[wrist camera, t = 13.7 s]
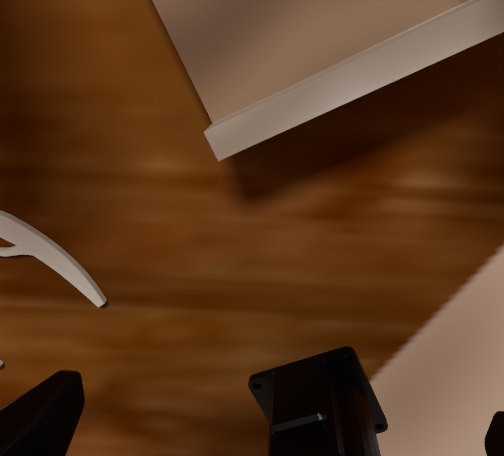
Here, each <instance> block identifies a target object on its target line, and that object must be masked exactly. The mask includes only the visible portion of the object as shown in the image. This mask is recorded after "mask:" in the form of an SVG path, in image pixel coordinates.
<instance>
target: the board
mask: <svg viewBox="0 0 504 456" xmlns="http://www.w3.org/2000/svg"><path fill="white" fill-rule="evenodd" d="M152 1H153V3H154V5H155V7H156V9H157V11H158V13H159V15H160V17H161V19H162V21H163V23H164V25H165V27H166V29H167V31H168V34H169V36H170V38H171V40H172V42H173V44H174V46H175V48H176V50H177V52H178V54H179V56H180V58H181V60H182V62H183V64H184V66H185V68H186V70H187V72H188V74H189V76H190V78H191V80H192V82H193V84H194V86H195V88H196V90H197V92H198V94H199V97H200V99H201V101H202V103H203V105H204V107H205V109H206V111H207V113H208V115H209V117H210V119H211V121H212V124H211V125H210V126H209V127H208V128H207V129H206V130H205V131H204V134H205V136H206V138H207V140H208V142H209V144H210V146H211V148H212V150H213V152H214V153H215V155H216V157H217V159H218V161H220V160H222V159H224V158H226V157H229V156H231V155H233V154H235V153H237V152H240V151H242V150H244V149H246V148H249V147H251V146H253V145H255V144H257V143H260V142H262V141H264V140H266V139H268V138H271V137H273V136H275V135H277V134H279V133H282V132H284V131H286V130H288V129H290V128H293V127H295V126H297V125H299V124H301V123H304V122H306V121H308V120H310V119H312V118H315V117H317V116H319V115H321V114H324V113H326V112H328V111H330V110H332V109H335V108H337V107H339V106H341V105H343V104H346V103H348V102H350V101H352V100H354V99H357V98H359V97H361V96H363V95H365V94H368V93H370V92H372V91H374V90H376V89H379V88H381V87H383V86H385V85H388V84H390V83H392V82H394V81H396V80H399V79H401V78H403V77H405V76H407V75H410V74H412V73H414V72H416V71H418V70H421V69H423V68H425V67H427V66H429V65H432V64H434V63H436V62H438V61H440V60H443V59H445V58H447V57H449V56H452V55H454V54H456V53H458V52H460V51H463V50H465V49H467V48H469V47H471V46H474V45H476V44H478V43H480V42H482V41H485V40H487V39H489V38H491V37H493V36H496V35H498V34H500V33H502V32H504V0H152Z"/></svg>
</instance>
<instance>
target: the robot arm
mask: <svg viewBox="0 0 504 456" xmlns="http://www.w3.org/2000/svg"><path fill="white" fill-rule="evenodd" d="M345 355H350V356H349V357H343V356H345ZM255 382H258V383H260V384H255ZM248 386H249V389H250V391H251V392H252V394H253V396H254V397H255V399H256V401H257V402H258V404H259V406H260V407H261V409H262V411H263V412H264V414H265V416H266V417H267V419H268V421H269V422H270V423H269V446H268V456H381V455H380V450H379V446H378V442H377V437H376V434H377V433H381V432H384V431H385V430H387V428H388V424H387V421H386V418H385V415H384V413H383V411H382V409H381V407H380V405H379V402H378V400H377V398H376V396H375V394H374V391H373V389H372V387H371V385H370V383H369V381H368V378H367V376H366V374H365V372H364V370H363V368H362V365H361V363H360V361H359V359H358V357H357V354H356V352H355V350H354V349H353V348H351V347H341V348H338V349H335V350H332V351H328V352H325V353H322V354H319V355H315V356H312V357H309V358H306V359H302V360H299V361H296V362H293V363H289V364H286V365H283V366H280V367H276V368H273V369H270V370H267V371H263V372H260V373H257V374H254V375H252V376H250V378H249V383H248ZM84 403H85V397H84V390H83V384H82V378H81V374H80V373H79V372H77V371H70V370H60V371H58V372H56V373H55V374H53V375H52V376H50V377H49V378H47V379H46V380H44V381H43V382H41V383H40V384H38V385H37V386H35V387H34V388H33V389H31V390H30V391H28V392H27V393H25V394H24V395H22V396H21V397H19V398H18V399H16V400H15V401H13V402H12V403H10V404H9V405H7V406H6V407H4V408H3V409H1V410H0V456H65V455H66V453H67V450H68V448H69V445H70V442H71V440H72V437H73V435H74V432H75V429H76V427H77V424H78V422H79V419H80V416H81V414H82V411H83V408H84ZM485 450H486V453H487V456H504V411H498V412H496V413H495V414H494V416H493V419H492V421H491V424H490V426H489V429H488V431H487V434H486V437H485Z"/></svg>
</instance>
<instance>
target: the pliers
mask: <svg viewBox="0 0 504 456" xmlns="http://www.w3.org/2000/svg"><path fill="white" fill-rule="evenodd" d="M0 238H2V239H5V240H7V241H9V242H11V243H13V244H15V246H12V247H9V248H3V247H0V256H15V255H22V254H23V255H33V256H35V257H36V258H38V259H39V260H41V261H42V262H44V263H45V264H46V265H48V266H49V267H51V268H52V269H54V270H55V271H56V272H58V273H59V274H60V275H62V276H63V277H64V278H65V279H66V280H68V281H69V282H70V283H71V284H72V285H74V286H75V287H76V288H77V289H78V290H79V291H81V292H82V293H83V294H84V295H85V296H86V297H87V298H89V299H90V300H91V301H92V302H93V303H94V304H95V305H96V306H97V307H100V306H101V305H103V304H104V303H105V302H106V301H107V299H106V298H105V296H104V295H103V293H102V292H101V290H100V289H99V287H98V286H97V285H96V283H95V282H94V281H93V280H92V278H91V277H90V276H89V274H88V273H87V272H86V271H85V270H84V269H83V268H82V267H81V266H80V265H79V264H78V262H77V261H76V260H75V259H74V258H72V257H71V256H70V255H69V254H68V253H67V252H66V251H65V250H64V249H62V248H61V247H60V246H59V245H58V244H56V243H55V242H54V241H52V240H51V239H50V238H48V237H47V236H46V235H44V234H43V233H41V232H40V231H38V230H36V229H35V228H33V227H32V226H30V225H29V224H27V223H25V222H24V221H22V220H20V219H18V218H16V217H14V216H13V215H11V214H8V213H6V212H4V211H1V210H0ZM2 364H3V362H2V361H1V359H0V366H1V365H2Z"/></svg>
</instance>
